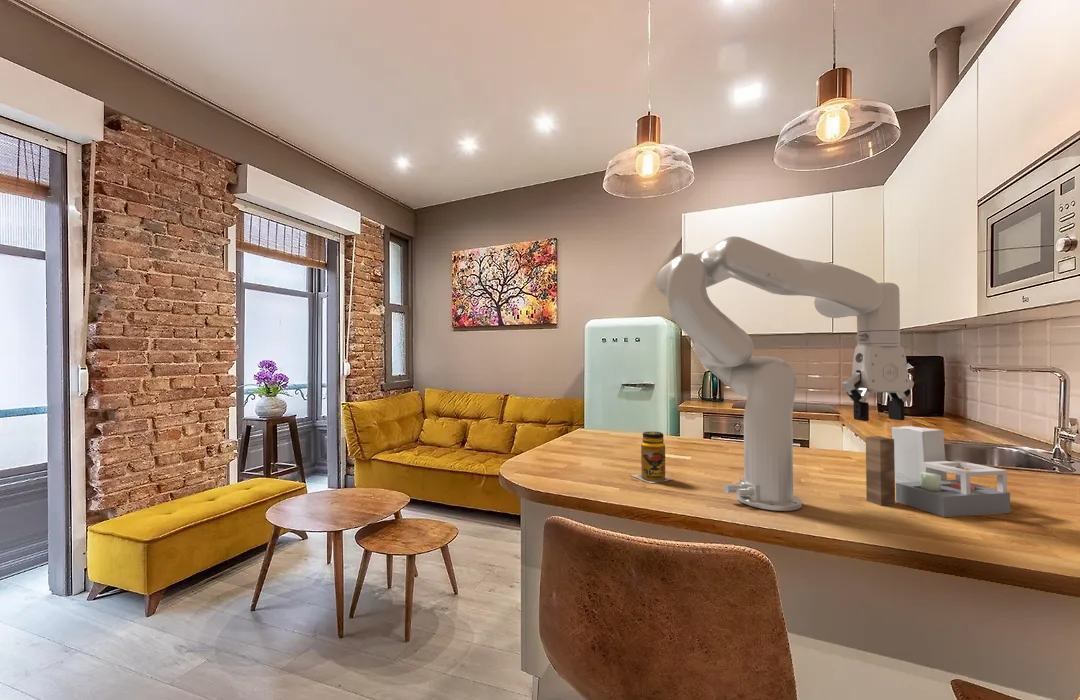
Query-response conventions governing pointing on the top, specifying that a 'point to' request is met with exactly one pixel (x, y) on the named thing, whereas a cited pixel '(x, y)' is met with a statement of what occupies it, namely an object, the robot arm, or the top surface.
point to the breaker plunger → (958, 486)
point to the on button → (931, 482)
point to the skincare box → (916, 452)
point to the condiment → (652, 458)
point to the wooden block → (880, 470)
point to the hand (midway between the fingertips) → (878, 419)
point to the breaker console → (957, 491)
